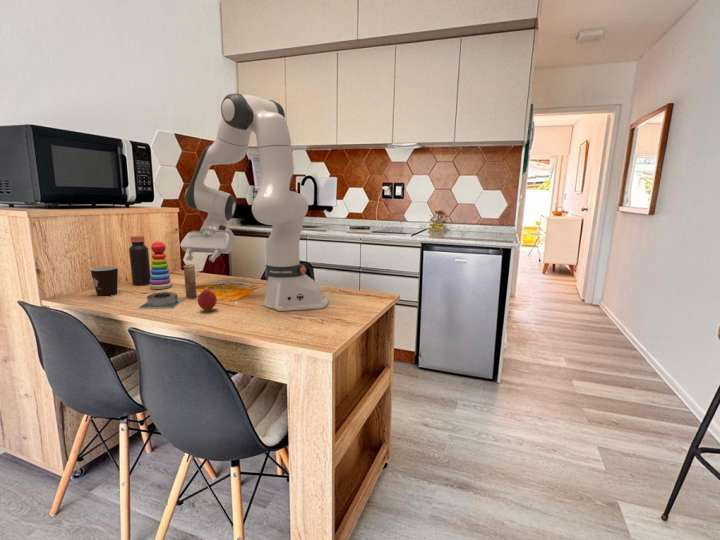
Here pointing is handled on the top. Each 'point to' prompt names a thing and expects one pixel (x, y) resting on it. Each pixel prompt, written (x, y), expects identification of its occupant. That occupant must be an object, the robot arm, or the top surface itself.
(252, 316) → the top surface
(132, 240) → the bottle
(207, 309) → the onion
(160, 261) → the stacking toy
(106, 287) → the coffee mug
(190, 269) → the dowel
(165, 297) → the collar
